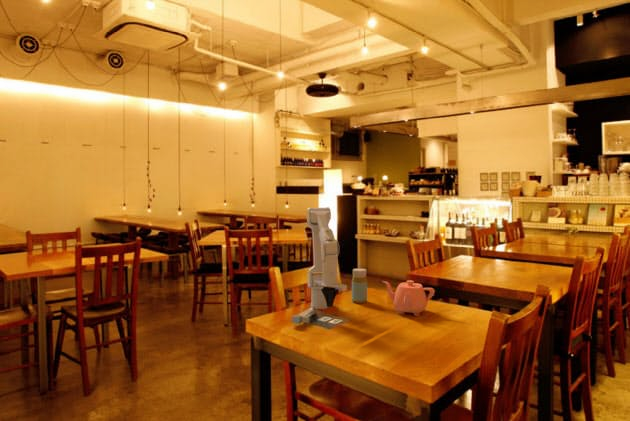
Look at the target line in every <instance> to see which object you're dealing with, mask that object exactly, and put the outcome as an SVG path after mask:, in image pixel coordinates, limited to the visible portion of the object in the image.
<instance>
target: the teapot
mask: <svg viewBox="0 0 630 421" xmlns="http://www.w3.org/2000/svg"><path fill="white" fill-rule="evenodd" d="M381 281H382V283H383V284H384V285H385V286H386V289H387V294H388V297H389V299H390V300H391V301H392V303H393V306H394V309H395V310H396V311H398V312H397V314H398V315H405V313H413V316H415V317H420V316H421V313H422V312H424V311H425V309H426V308H427V306H428V301H430V300H431V299H432V297H433V296H434V295H435V292H436V290H435V289H434V288H433V287H424V286H423V285H422V284H421V283H417V282H415V281H414V280H411V279H409V280H406V282H401V283H399V284H398V286H397V288H396V290H395V292H394V291H393V289H392V286H391V284H390V282H388V281H384V280H381ZM426 291H428V292H429V294H428V296H427V294H426Z"/></svg>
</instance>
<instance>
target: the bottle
mask: <svg viewBox="0 0 630 421" xmlns="http://www.w3.org/2000/svg"><path fill="white" fill-rule="evenodd" d="M351 301H352V303H353V304H358V303H360V304H361V303H362V304H366V303H367V302H368V278H367V269H365V268H360V267H359V268H358V267H357V268H353V269H352V279H351Z"/></svg>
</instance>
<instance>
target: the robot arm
mask: <svg viewBox="0 0 630 421" xmlns="http://www.w3.org/2000/svg"><path fill="white" fill-rule="evenodd" d="M331 218H332V212H331V208H330V207H308V208H307V209H306V224H307V227H308V228H310V229H311V234H312V253H313V254H312V255H313V256H312V257H313V265H312V266H311V267H310V268H309V269H308V271H307V286H308V288H310V290H311V292H310V293H311V294H310V296H311V298H310V299H311V301H310V302H311V303H310V305H311V306H310V307H316V308H317V310H325V309H327V308H332V307H334V303H335V298H336V296H337V294H338V293H339V290H340V291H342V292H346V291H347V290H348V285H347V284H343V283H339V282H338V256H339V255H340V244H339V241H338V240H337V239H336V238H335V235H334V232H333V230H332V228H330V226H329V223H330V221H331Z"/></svg>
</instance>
